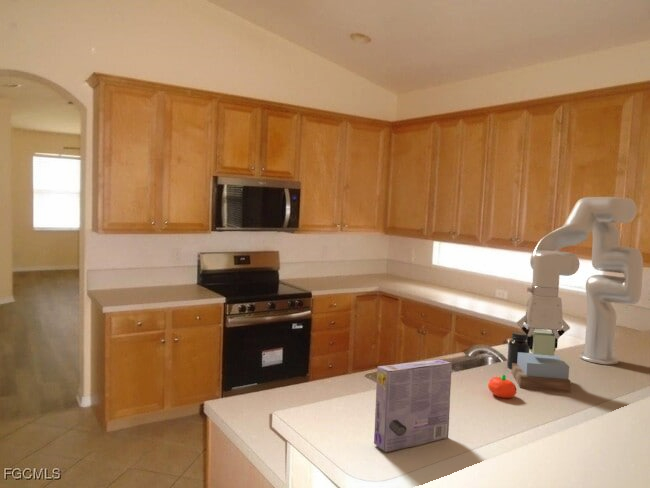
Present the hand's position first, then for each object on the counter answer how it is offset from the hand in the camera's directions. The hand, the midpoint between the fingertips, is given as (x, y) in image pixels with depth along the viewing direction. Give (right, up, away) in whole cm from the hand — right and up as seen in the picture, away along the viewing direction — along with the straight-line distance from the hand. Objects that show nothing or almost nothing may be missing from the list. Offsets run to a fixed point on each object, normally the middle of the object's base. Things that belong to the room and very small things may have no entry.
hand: (541, 348), depth 152 cm
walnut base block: (-1, -11, +1) cm, 11 cm away
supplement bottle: (-2, -10, +15) cm, 18 cm away
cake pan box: (-48, -12, -43) cm, 65 cm away
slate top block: (0, -7, +1) cm, 7 cm away
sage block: (0, -1, 0) cm, 1 cm away
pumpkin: (-17, -11, -12) cm, 24 cm away
